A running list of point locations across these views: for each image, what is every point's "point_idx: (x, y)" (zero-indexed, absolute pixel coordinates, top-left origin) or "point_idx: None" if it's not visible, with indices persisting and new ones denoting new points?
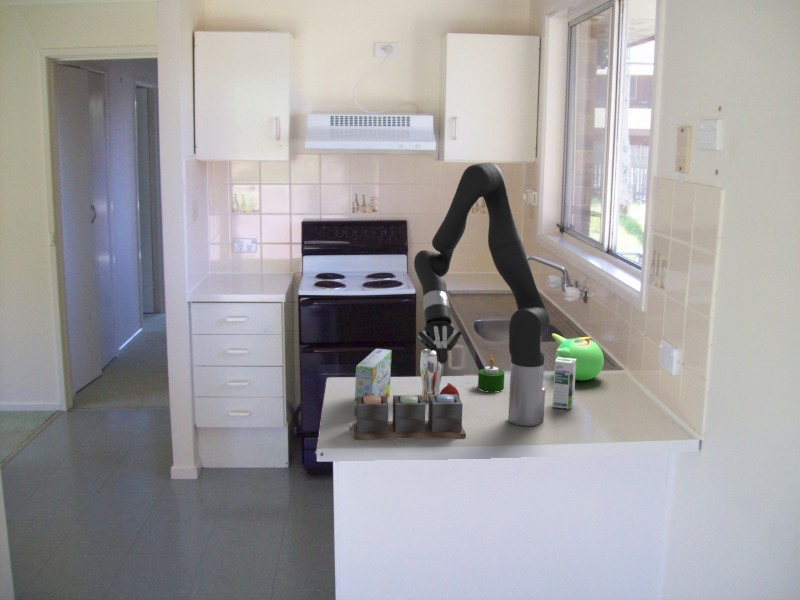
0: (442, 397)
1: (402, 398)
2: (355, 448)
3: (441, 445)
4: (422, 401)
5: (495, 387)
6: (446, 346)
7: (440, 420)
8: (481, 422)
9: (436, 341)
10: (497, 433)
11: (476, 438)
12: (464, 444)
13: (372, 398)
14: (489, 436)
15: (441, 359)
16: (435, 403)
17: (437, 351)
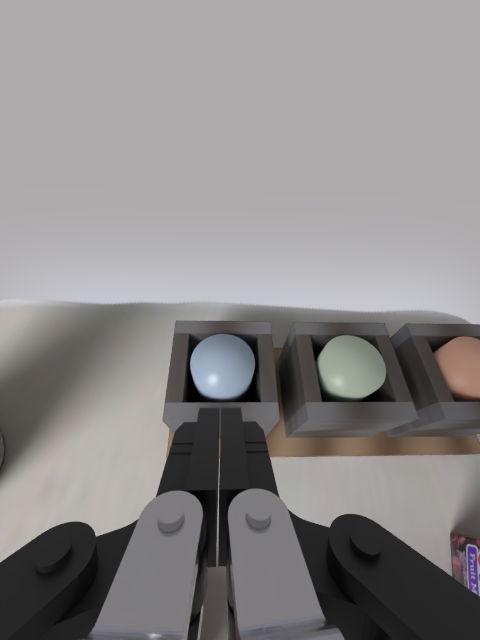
0: (234, 358)
1: (375, 354)
2: (413, 311)
3: (244, 314)
4: (304, 347)
5: None
6: (145, 519)
7: None
8: (94, 463)
9: (311, 621)
10: (92, 371)
11: (157, 344)
12: (195, 315)
13: (476, 359)
14: (121, 354)
15: (233, 408)
16: (262, 327)
17: (269, 482)
